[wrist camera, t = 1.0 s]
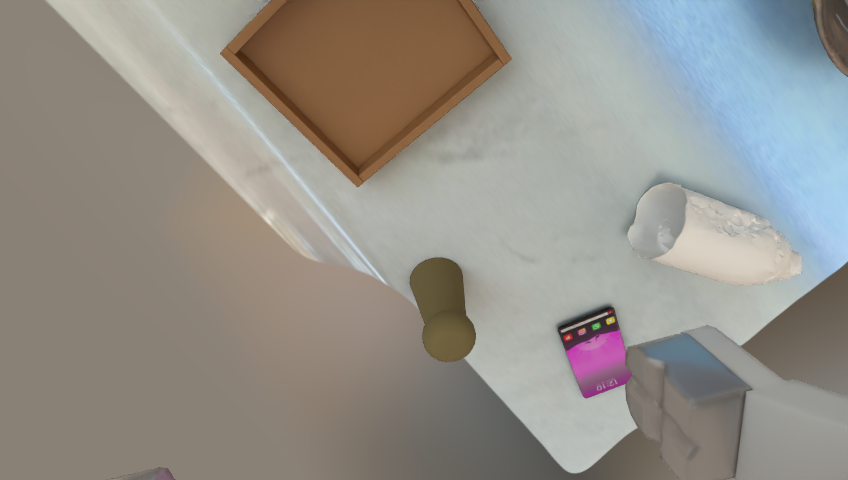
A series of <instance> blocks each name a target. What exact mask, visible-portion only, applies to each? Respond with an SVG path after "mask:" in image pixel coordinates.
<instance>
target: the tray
mask: <svg viewBox="0 0 848 480" xmlns="http://www.w3.org/2000/svg"><path fill="white" fill-rule="evenodd" d="M220 54H221V55H222V56H223V57H224V58H225V59H226V60H227V61H228V62H229V63H230V64H231V65H232V66H233V67H234V68H235V69H236V70H237V71H238V72H239V73H240V74H241V75H242V76H243V77H244V78H245V79H247V80H248V81H249V82H250V83H251V84H252V85H253V86H254V87H255V88H256V89H257V90H258V91H259V92H260V93H261V94H262V95H263V96H264V97H265V98H266V99H267V100H268V101H269V102H270V103H271V104H272V105H273V106H274V107H275V108H276V109H277V110H278V111H279V112H280V113H282V114H283V115H284V116H285V117H286V118H287V119H288V120H289V121H290V122H291V123H292V124H293V125H294V126H295V127H296V128H297V129H298V130H299V131H300V132H301V133H302V134H303V135H304V136H305V137H306V138H307V139H308V140H309V141H310V142H311V143H312V144H313V145H314V146H316V147H317V148H318V149H319V150H320V151H321V152H322V153H323V154H324V155H325V156H326V157H327V158H328V159H329V160H330V161H331V162H332V163H333V164H334V165H335V166H336V167H337V168H338V169H339V170H340V171H341V172H342V173H343V174H344V175H345V176H346V177H347V178H348V179H350V180H351V181H352V182H353V183H354V184H355V185H356V186H357V187H359V186H360V185H361V184H362V183H364V181H366V180H367V179H368V178H369V177H371V176H372V175H373V174H374V173H375V172H377V171H378V170H379V169H380V168H381V167H383V166H384V165H385V164H386V163H387V162H389V161H390V160H391V159H392V158H393V157H395V156H396V155H397V154H398V153H399V152H401V151H402V150H403V149H404V148H405V147H407V146H408V145H409V144H410V143H411V142H413V141H414V140H415V139H416V138H417V137H419V136H420V135H421V134H422V133H423V132H425V131H426V130H427V129H428V128H430V127H431V126H432V125H433V124H434V123H436V122H437V121H438V120H439V119H440V118H442V117H443V116H444V115H445V114H446V113H448V112H449V111H450V110H451V109H452V108H454V107H455V106H456V105H457V104H458V103H460V102H461V101H462V100H463V99H464V98H466V97H467V96H468V95H469V94H470V93H472V92H473V91H474V90H475V89H476V88H478V87H479V86H480V85H481V84H482V83H484V82H485V81H486V80H487V79H488V78H490V77H491V76H492V75H493V74H494V73H496V72H497V71H498V70H499V69H500V68H502V67H503V66H504V65H505V64H507V63H508V62H509V61H510V60H511V57H510V56H509V54H508V53H507V51H506V50H505V48H504V47H503V45H502V44H501V42H500V41H499V39H498V38H497V37H496V35H495V34H494V32H493V31H492V29H491V28H490V26H489V25H488V23H487V22H486V21H485V19H484V18H483V16H482V15H481V13H480V12H479V10H478V9H477V7H476V6H475V4H474V3H473V2H472V0H271V1H270V2H269V3H268V4H267V5H266V6H265V7H264V8H263V9H262V10H261V11H260V12H259V13H258V14H257V15H256V16H255V17H254V19H253V20H252V21H251V22H250V23H249V24H248V25H247V26H246V27H245V28H244V29H243V30H242V31H241V32H240V33H239V34H238V35H237V36H236V37H235V38H234V39H233V40H232V41H231V42H230V43H229V44H228V45H227V46H226V47H225V48H224V49H223V50H222V52H221V53H220Z"/></svg>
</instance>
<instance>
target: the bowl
mask: <svg viewBox="0 0 848 480" xmlns="http://www.w3.org/2000/svg"><path fill="white" fill-rule="evenodd" d="M812 5H813V11H814V20H815V23H816V27H817V31H818V34H819V37H820V39H821V42H822V44H823V46H824V48H825V50H826V52H827V54H828V56H829V58H830V59H831V61H832V62H833V63H834V64H835V66H836V67H837V68H838V69H839V70H840V71H841V72H842V73H843V74H845V75H846V76H847V77H848V0H812Z"/></svg>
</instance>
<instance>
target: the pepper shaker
mask: <svg viewBox="0 0 848 480" xmlns="http://www.w3.org/2000/svg"><path fill="white" fill-rule="evenodd" d="M410 285H411V288H412V291H413V294H414V296H415V299H416V302H417V305H418V307H419V310H420V313H421V315H422V318H423V320H424V323H425V326H424V328H423V335H422V339H423V344H424V347H425V349H426V351H427V352H428V353H429V354H430V355H431V356H432V357H433V358H435V359H437V360H439V361H443V362H453V361H457V360H460V359H462V358H464V357H466V356H467V355H468V354H469V353H470V352H471V350H472V348H473V346H474V345H475V339H476V333H475V329H474V326H473V323H472V322H471V321H470V319H469V318H468V317H467V316H466V310H465V298H464V286H463V276H462V272H461V269H460V268H459V266H458V265H457V264H456V263H454V262H453V261H451V260H449V259H445V258H432V259H428V260H425V261H424V262H422V263H420V264H419V265H418V266H417V267H416V268H415V269H414V270H413V272H412V274H411V276H410Z"/></svg>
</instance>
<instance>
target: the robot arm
mask: <svg viewBox="0 0 848 480" xmlns="http://www.w3.org/2000/svg"><path fill="white" fill-rule="evenodd" d="M625 366H626V367H627V368H628V369H629V370H630V372H631V373H632V376H631V377H630V379H629V380H628V382H627V383H626V385H625V389H626V401H627V404H628V407H629V411H630V414H631V416H632V418H633V420H634V421H635V423H636V425H637V427H638V428H639V429H640V431H641V432H642V433H643V435H644V436H645V437H647V438H648V439H650V440H652V441H654V442H657V443H659V444H661V458H662V460H663V461H664V462H665V464H666V465H667V466H668V467H669V468H670V470H671V471H672V473H673V474H674V475H675V476H676V478H677V479H678V480H726V479H730V478H734V477H735V480H848V396H846V395H843V394H840V393H837V392H833V391H830V390H827V389H824V388H821V387H817V386H814V385H811V384H808V383H805V382H802V381H798V380H795V379H793V380H789V381H784V380H783V379H781V378H780V377H779V376H778V375H776V374H775V373H774V372H772V371H771V370H770V369H769V368H767V367H766V366H765V365H763V364H762V363H761V362H759V361H758V360H757V359H756V358H754V357H753V356H752V355H750V354H749V353H748V352H747V351H745V350H744V349H743V348H741V347H740V346H739V345H737V344H736V343H735V342H734V341H732V340H731V339H730V338H728V337H727V336H726V335H724V334H723V333H722V332H721V331H719V330H718V329H717V328H715V327H712V326H708V325H706V326H703V327H699V328H695V329H692V330H688V331H684V332H681V333H680V334H675V335H671V336H667V337H664V338H660V339H656V340H652V341H649V342H645V343H641V344H637V345H633V346H630V347H628V348H627V351H626V353H625ZM107 480H175V479H174V477H173V476H172V474H171V473H170V471H169V469H168V468H160V467H159V468H155V469H151V470H146V471H142V472H138V473H133V474H129V475H125V476H120V477H116V478H112V479H107Z"/></svg>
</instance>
